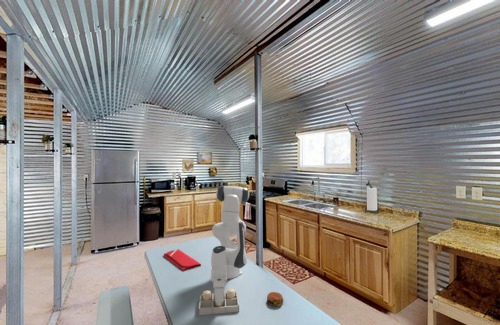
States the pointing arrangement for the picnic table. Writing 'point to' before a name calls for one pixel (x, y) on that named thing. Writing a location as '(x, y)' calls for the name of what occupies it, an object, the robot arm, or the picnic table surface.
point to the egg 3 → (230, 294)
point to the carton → (210, 308)
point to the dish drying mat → (181, 260)
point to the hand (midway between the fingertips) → (219, 301)
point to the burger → (275, 299)
